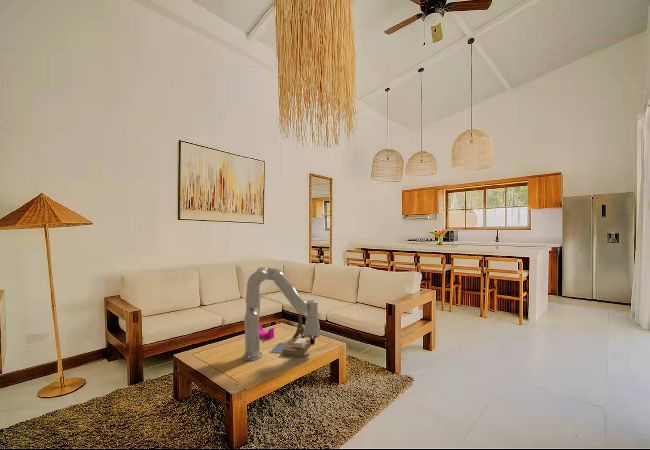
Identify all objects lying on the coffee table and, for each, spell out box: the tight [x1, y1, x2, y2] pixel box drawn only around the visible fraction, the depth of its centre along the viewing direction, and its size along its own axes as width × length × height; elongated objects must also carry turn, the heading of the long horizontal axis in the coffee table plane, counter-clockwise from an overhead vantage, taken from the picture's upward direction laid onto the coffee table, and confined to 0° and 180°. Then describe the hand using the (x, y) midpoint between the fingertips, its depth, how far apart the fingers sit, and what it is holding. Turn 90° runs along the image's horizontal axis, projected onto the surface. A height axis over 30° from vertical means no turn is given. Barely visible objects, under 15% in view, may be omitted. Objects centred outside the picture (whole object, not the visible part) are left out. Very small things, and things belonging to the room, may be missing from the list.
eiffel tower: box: [291, 313, 309, 340], centre depth 239 cm, size 11×11×25 cm
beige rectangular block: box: [294, 337, 308, 348], centre depth 214 cm, size 9×6×3 cm, turn 165°
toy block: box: [259, 324, 275, 340], centre depth 240 cm, size 15×6×8 cm, turn 59°
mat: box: [269, 342, 288, 355], centre depth 218 cm, size 16×10×1 cm, turn 165°
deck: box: [282, 337, 312, 358], centre depth 215 cm, size 20×14×4 cm
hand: (312, 344), depth 212 cm, fingers closed
